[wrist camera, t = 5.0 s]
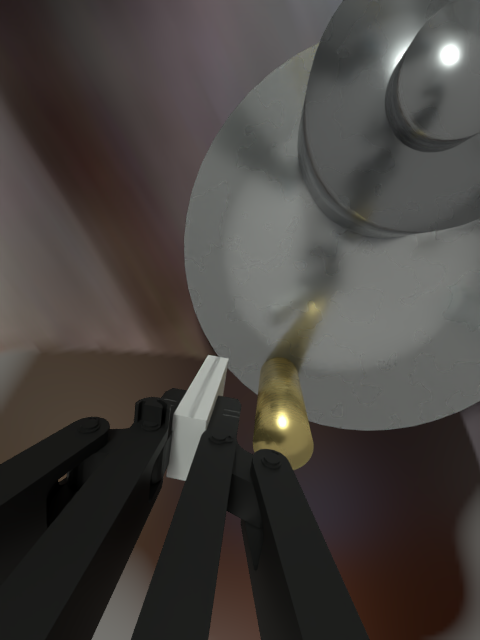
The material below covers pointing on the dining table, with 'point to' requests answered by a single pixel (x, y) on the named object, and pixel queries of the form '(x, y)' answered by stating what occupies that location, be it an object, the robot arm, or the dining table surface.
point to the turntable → (323, 289)
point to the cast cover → (395, 117)
